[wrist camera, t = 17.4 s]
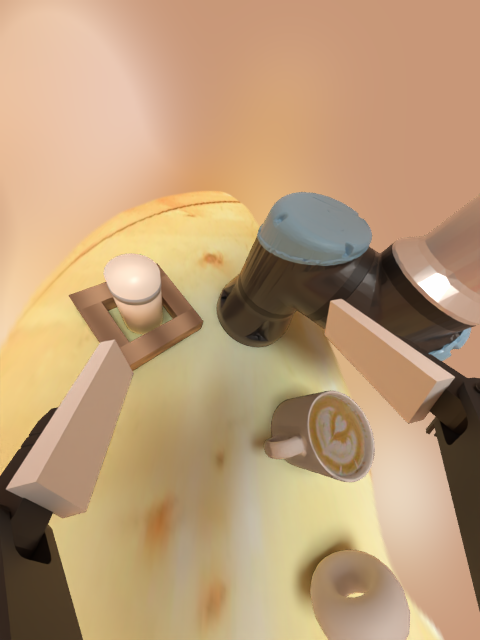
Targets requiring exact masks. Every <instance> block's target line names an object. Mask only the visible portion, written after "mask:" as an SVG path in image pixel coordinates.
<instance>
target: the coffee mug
mask: <svg viewBox="0 0 480 640" xmlns="http://www.w3.org/2000/svg"><path fill="white" fill-rule="evenodd" d="M271 432H272V438H269V439H267V440H266V441H265V442H264V449H265V452H266V454H267V455H268V456H269V457H270V458H275V459H285V460H286V461H287V462H288V463H290V464H292V465H294V466H297V467H300V468H303V469H306V470H309V471H312V472H315V473H319V474H322V475H325V476H328V477H331V478H334V479H337V480H340V481H343V482H355V481H358V480H360V479H362V478H363V477H364V476H365V475H366V474H367V473H368V472H369V470H370V468H371V466H372V463H373V459H374V450H375V449H374V438H373V433H372V430H371V427H370V424H369V422H368V420H367V418H366V416H365V414H364V413H363V411H362V410H361V408H360V407H359V406H358V405H357V404H356V402H354V401H353V400H352V399H351V398H350V397H348V396H347V395H345V394H343V393H340V392H337V391H325V392H321V393H316V394H311V395H306V396H302V397H297V398H292V399H288V400H285V401H284V402H282V403H281V404H280V405H279V406H278V407H277V409H276V410H275V412H274V414H273V418H272V423H271Z"/></svg>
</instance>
